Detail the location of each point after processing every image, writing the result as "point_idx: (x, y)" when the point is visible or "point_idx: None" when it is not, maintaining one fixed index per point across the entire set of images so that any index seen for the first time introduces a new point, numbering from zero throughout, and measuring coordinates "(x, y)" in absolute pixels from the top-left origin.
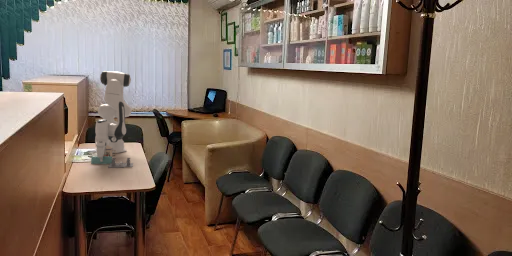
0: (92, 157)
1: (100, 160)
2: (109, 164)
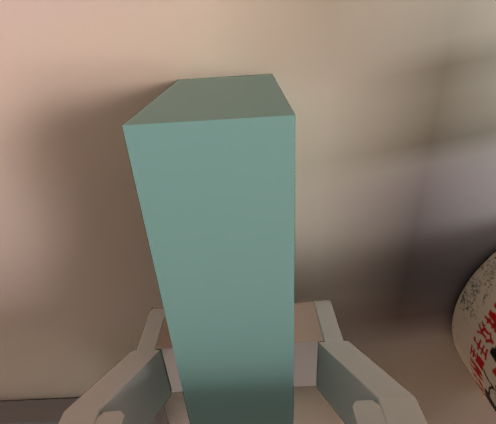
0: (136, 172)
1: (148, 332)
2: None
